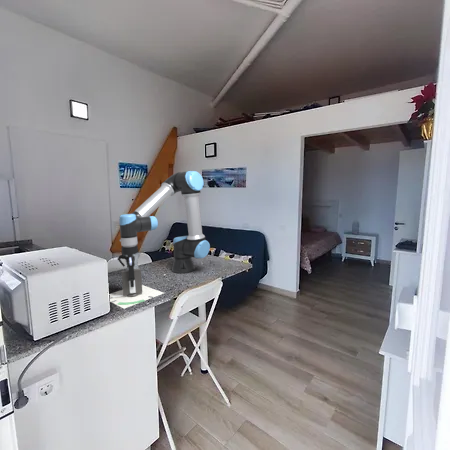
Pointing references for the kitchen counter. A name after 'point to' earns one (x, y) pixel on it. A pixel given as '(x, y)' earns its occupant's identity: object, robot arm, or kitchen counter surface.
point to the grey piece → (126, 283)
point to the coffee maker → (126, 261)
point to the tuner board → (130, 301)
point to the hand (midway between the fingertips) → (132, 291)
